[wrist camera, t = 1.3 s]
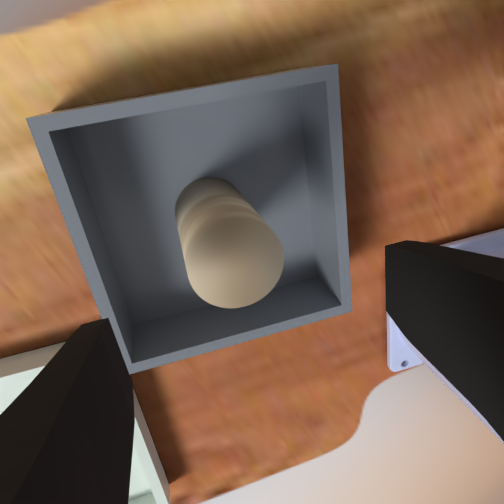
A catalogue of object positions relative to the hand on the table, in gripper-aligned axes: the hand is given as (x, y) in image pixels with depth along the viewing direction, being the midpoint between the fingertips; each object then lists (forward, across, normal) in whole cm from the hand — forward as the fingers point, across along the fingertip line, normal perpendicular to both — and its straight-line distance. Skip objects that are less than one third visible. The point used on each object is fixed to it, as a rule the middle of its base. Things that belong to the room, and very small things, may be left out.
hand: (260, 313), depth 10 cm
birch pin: (+9, 0, 0) cm, 9 cm away
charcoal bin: (+10, 0, 0) cm, 10 cm away
